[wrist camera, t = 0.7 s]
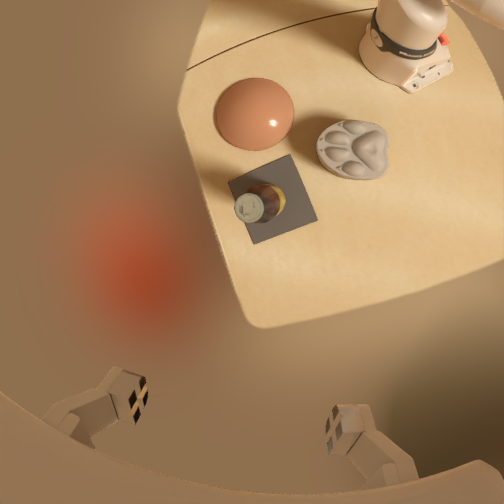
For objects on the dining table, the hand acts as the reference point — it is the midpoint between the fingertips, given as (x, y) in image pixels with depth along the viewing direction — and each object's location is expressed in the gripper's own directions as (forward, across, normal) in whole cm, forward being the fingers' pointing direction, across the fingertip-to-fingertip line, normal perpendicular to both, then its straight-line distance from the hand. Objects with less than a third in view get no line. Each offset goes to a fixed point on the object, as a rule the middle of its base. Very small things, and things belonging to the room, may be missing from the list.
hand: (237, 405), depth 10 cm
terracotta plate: (+50, +5, -20) cm, 54 cm away
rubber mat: (+48, 0, -2) cm, 48 cm away
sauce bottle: (+48, 0, -2) cm, 48 cm away
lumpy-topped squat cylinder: (+46, -14, -14) cm, 51 cm away
